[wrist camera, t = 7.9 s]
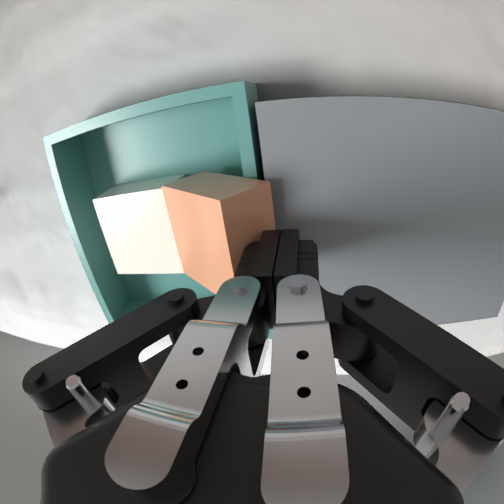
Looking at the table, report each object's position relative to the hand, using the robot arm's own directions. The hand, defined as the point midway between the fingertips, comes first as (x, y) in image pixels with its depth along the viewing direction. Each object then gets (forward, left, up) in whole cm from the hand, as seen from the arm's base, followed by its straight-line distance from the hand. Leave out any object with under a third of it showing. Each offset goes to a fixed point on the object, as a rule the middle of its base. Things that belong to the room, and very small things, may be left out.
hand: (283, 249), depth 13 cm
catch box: (+6, -3, -5) cm, 9 cm away
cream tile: (+7, -3, -2) cm, 8 cm away
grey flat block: (-6, +2, -5) cm, 8 cm away
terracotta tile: (+2, -1, -2) cm, 3 cm away
